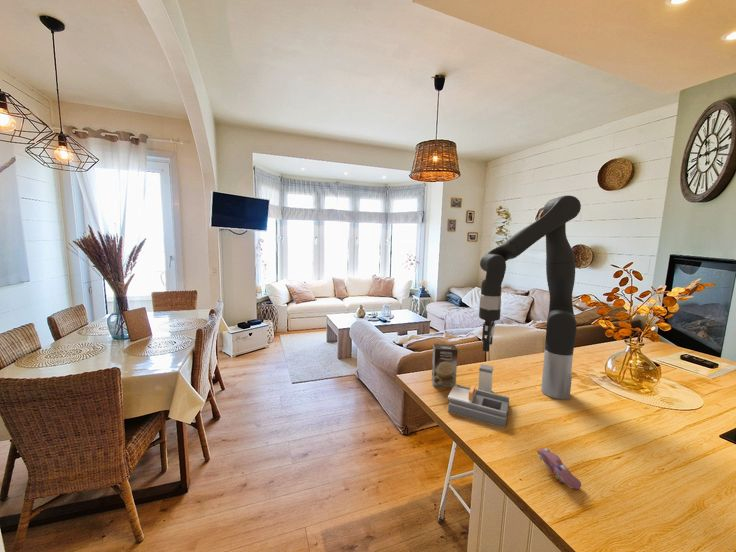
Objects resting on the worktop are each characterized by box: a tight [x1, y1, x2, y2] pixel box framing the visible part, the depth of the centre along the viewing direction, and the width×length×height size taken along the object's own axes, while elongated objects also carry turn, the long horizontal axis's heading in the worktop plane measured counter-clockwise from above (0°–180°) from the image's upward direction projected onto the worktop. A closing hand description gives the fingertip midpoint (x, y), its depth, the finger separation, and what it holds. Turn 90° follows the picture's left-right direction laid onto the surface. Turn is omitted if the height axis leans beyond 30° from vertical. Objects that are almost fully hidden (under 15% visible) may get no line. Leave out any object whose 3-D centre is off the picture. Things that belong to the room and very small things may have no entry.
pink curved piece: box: [536, 447, 582, 490], centre depth 76 cm, size 10×5×7 cm, turn 6°
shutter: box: [447, 384, 476, 403], centre depth 108 cm, size 8×9×4 cm
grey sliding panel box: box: [447, 384, 510, 429], centre depth 105 cm, size 18×15×4 cm
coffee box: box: [431, 343, 459, 388], centre depth 123 cm, size 9×6×16 cm
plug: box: [477, 364, 494, 393], centre depth 117 cm, size 4×4×10 cm
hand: (487, 347), depth 115 cm, fingers open, 8 cm apart
